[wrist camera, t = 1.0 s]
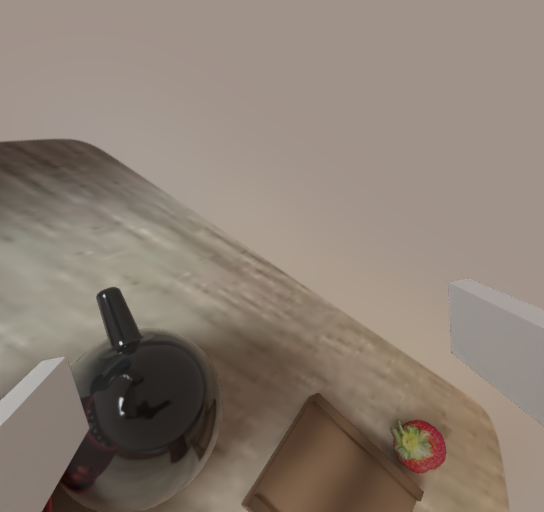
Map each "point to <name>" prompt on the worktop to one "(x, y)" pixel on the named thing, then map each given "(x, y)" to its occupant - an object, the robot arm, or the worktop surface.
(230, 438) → the worktop surface
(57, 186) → the worktop surface
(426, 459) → the fruit
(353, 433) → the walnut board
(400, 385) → the worktop surface
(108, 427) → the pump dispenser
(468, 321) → the robot arm
